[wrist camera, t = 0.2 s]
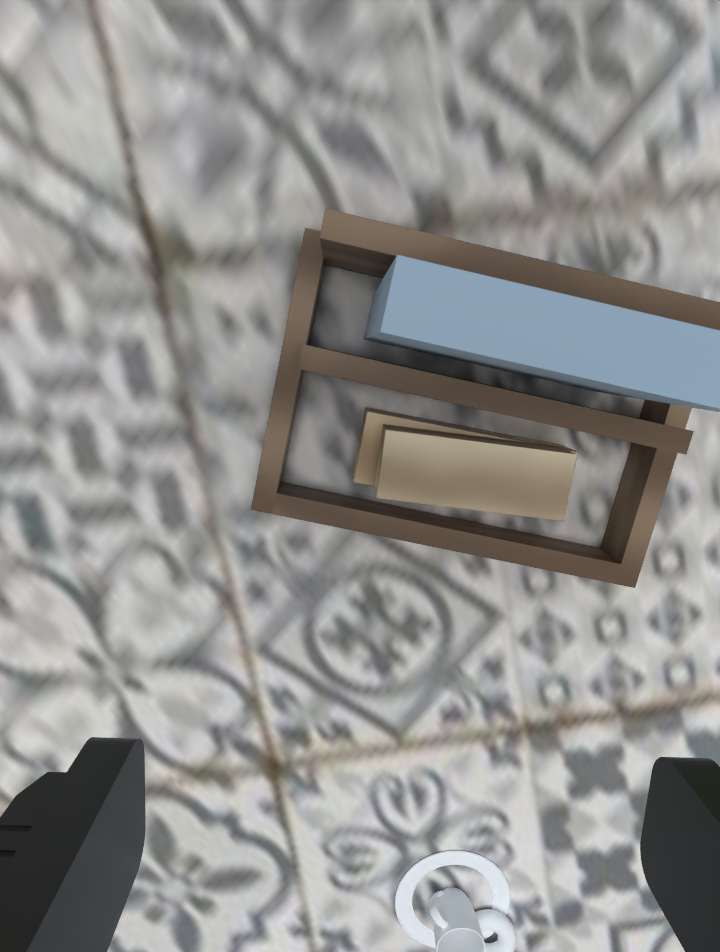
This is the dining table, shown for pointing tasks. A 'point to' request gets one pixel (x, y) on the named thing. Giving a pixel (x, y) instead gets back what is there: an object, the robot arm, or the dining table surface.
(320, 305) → the dining table surface
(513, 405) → the rack
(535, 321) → the tall panel
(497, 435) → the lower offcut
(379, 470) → the upper offcut
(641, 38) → the dining table surface
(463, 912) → the teacup and saucer
